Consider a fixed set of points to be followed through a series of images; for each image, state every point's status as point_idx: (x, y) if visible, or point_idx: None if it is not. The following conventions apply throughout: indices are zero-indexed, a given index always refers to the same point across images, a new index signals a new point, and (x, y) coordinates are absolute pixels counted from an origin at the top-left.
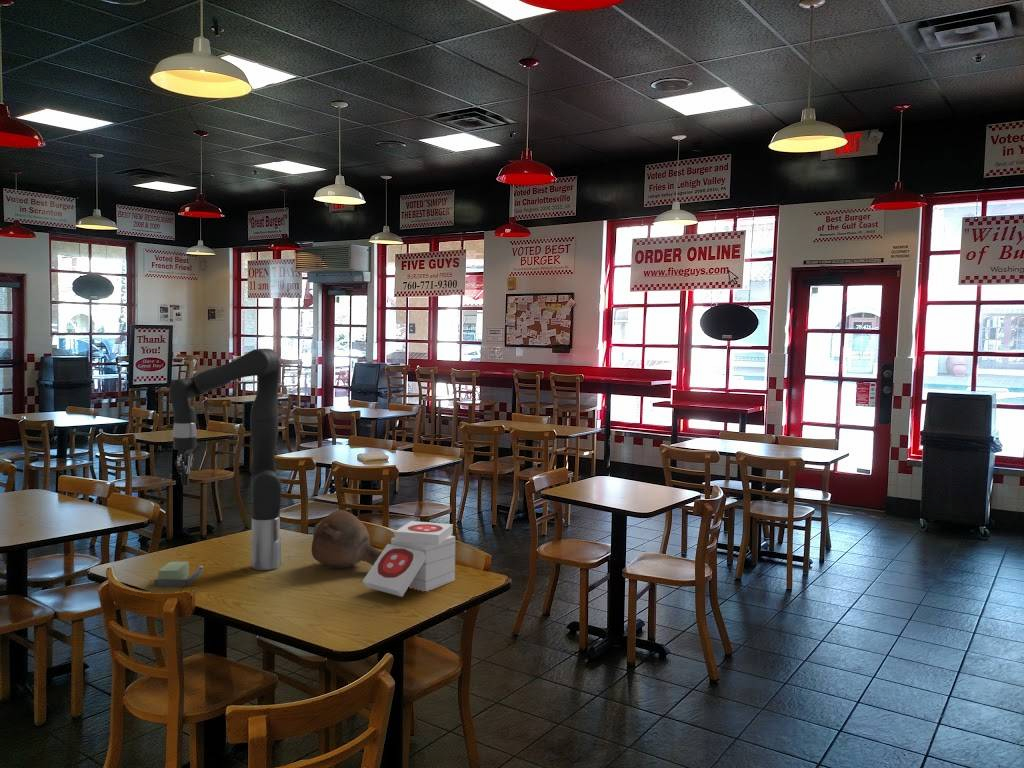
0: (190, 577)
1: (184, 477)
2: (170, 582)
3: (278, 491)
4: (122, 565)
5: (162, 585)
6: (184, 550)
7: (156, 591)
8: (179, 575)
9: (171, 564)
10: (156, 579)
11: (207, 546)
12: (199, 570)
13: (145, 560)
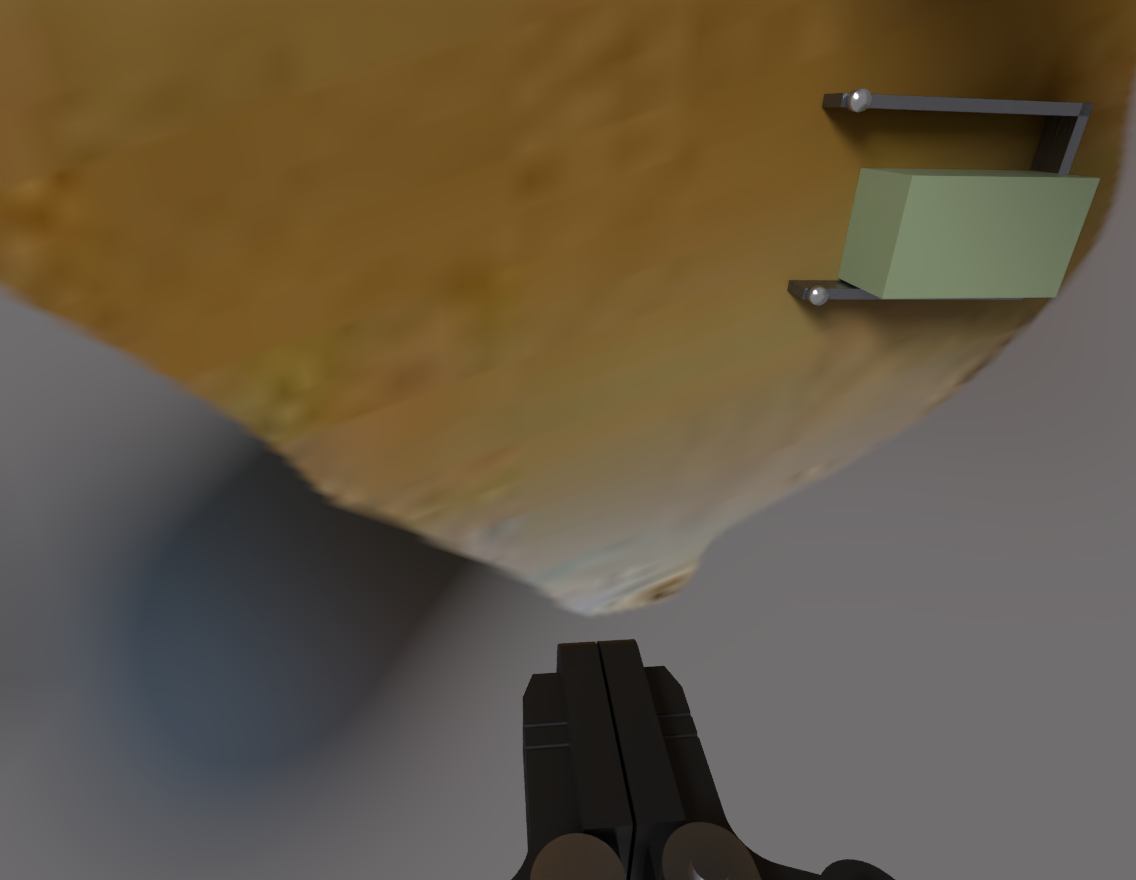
0: (1050, 102)
1: (709, 787)
2: None
3: None
4: (617, 564)
5: None
6: (312, 385)
7: (1089, 250)
8: (1041, 174)
9: (946, 268)
10: None
11: (184, 272)
12: (897, 95)
13: (533, 505)
